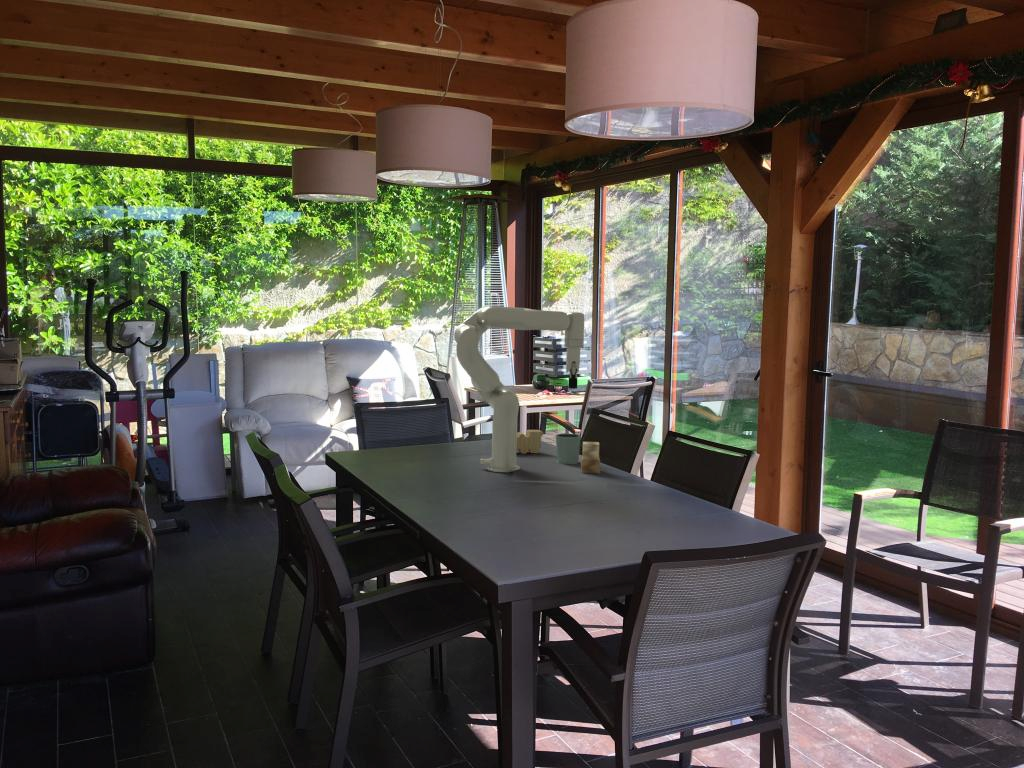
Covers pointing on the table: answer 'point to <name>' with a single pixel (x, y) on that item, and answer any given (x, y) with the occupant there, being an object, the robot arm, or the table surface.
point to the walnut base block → (590, 466)
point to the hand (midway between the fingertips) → (572, 387)
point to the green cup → (568, 448)
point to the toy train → (529, 441)
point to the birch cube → (590, 450)
